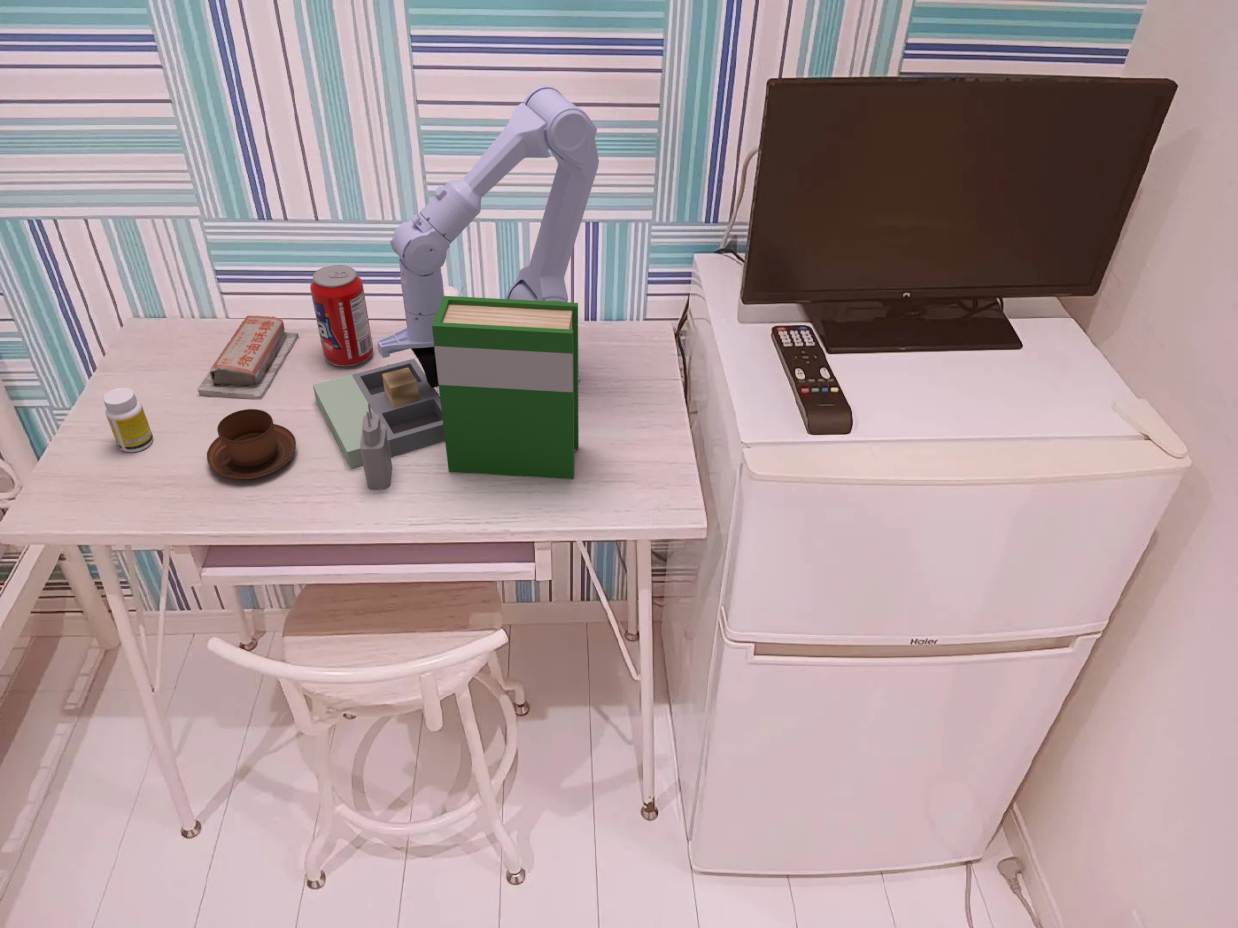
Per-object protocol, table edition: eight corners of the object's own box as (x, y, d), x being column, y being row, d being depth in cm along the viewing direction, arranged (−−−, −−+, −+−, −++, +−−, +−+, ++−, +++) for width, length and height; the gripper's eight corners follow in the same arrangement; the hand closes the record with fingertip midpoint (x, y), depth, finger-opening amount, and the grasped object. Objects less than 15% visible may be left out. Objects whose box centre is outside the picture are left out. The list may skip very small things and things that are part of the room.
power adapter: (366, 489, 135) (353, 420, 127) (370, 464, 139) (357, 395, 132) (390, 488, 135) (378, 419, 128) (392, 463, 140) (381, 394, 132)
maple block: (410, 386, 149) (408, 367, 147) (419, 400, 146) (417, 381, 144) (385, 393, 147) (382, 374, 145) (393, 407, 145) (390, 388, 142)
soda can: (373, 368, 157) (359, 286, 148) (322, 372, 156) (305, 289, 147) (374, 342, 163) (362, 260, 154) (326, 345, 162) (310, 263, 153)
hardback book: (578, 446, 144) (578, 302, 128) (573, 479, 138) (572, 333, 123) (458, 439, 144) (443, 295, 129) (448, 472, 139) (431, 325, 123)
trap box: (416, 374, 157) (414, 358, 155) (457, 437, 145) (455, 420, 143) (316, 400, 151) (312, 384, 149) (350, 468, 138) (347, 452, 137)
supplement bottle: (161, 437, 143) (144, 390, 138) (138, 456, 139) (120, 408, 134) (133, 429, 144) (116, 382, 139) (111, 448, 141) (92, 401, 135)
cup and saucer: (276, 491, 135) (267, 457, 131) (194, 481, 136) (182, 446, 132) (311, 438, 144) (304, 404, 140) (234, 428, 145) (224, 394, 141)
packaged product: (234, 310, 162) (294, 313, 161) (241, 335, 165) (299, 339, 165) (190, 372, 148) (256, 376, 148) (198, 398, 151) (262, 402, 151)
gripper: (462, 281, 145) (469, 358, 153) (366, 303, 139) (378, 382, 148) (480, 303, 140) (486, 381, 149) (381, 327, 135) (393, 407, 143)
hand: (433, 383), depth 148 cm, fingers closed
